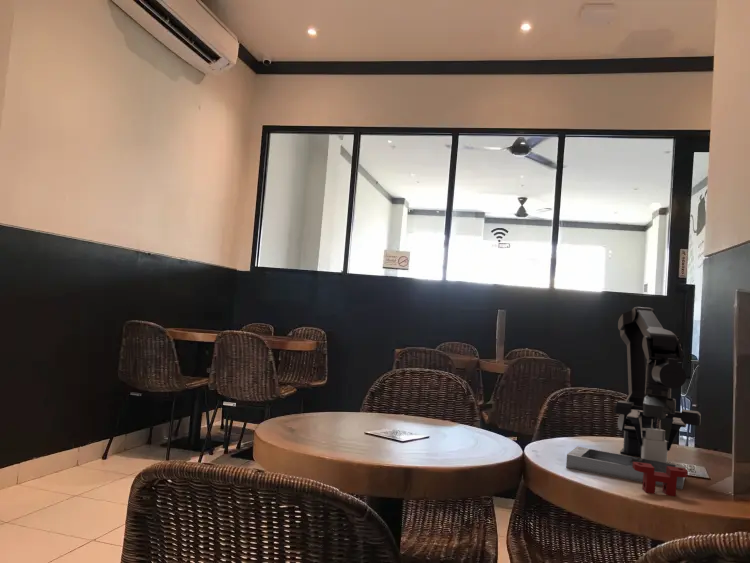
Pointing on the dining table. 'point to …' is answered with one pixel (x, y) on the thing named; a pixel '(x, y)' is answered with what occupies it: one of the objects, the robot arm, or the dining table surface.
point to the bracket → (660, 477)
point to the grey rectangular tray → (614, 464)
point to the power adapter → (654, 444)
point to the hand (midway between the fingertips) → (654, 448)
